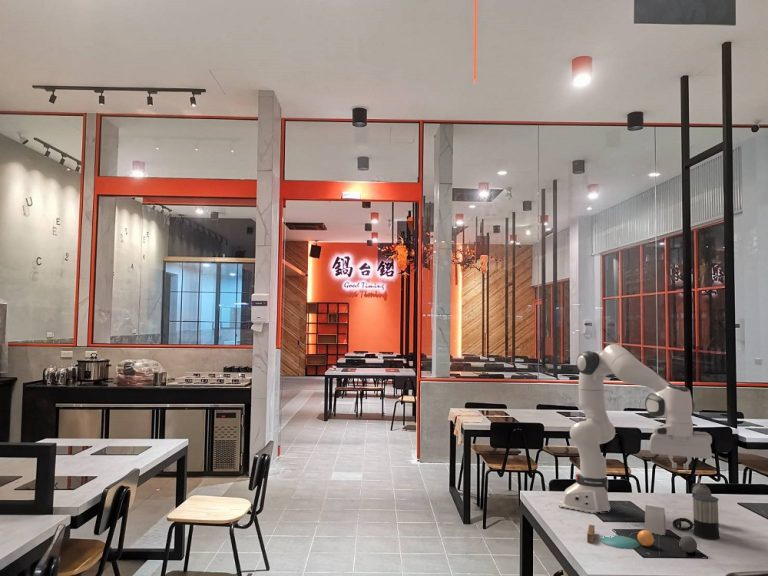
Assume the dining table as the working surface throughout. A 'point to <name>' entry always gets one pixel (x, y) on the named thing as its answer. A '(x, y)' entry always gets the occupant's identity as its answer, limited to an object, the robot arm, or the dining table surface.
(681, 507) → the dining table surface
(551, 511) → the dining table surface
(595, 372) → the robot arm
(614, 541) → the teal ellipsoid
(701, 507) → the milk frother
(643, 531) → the orange ball
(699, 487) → the beverage cup
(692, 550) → the gray ball
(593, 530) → the wall
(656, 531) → the white carton box
